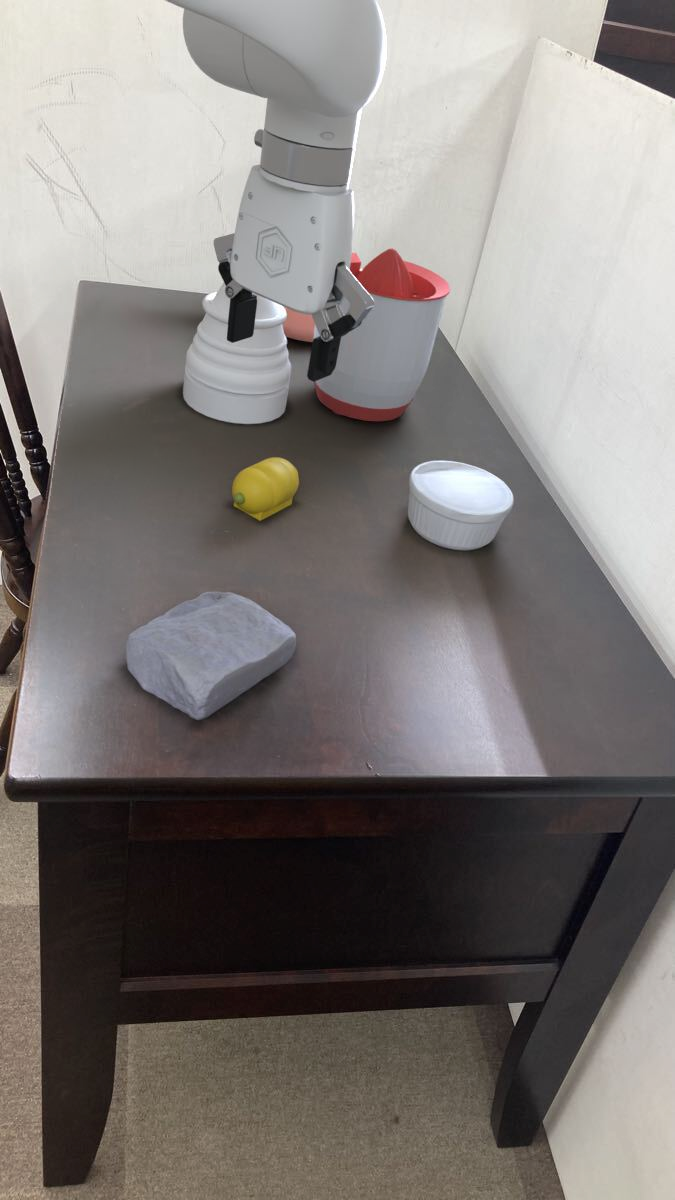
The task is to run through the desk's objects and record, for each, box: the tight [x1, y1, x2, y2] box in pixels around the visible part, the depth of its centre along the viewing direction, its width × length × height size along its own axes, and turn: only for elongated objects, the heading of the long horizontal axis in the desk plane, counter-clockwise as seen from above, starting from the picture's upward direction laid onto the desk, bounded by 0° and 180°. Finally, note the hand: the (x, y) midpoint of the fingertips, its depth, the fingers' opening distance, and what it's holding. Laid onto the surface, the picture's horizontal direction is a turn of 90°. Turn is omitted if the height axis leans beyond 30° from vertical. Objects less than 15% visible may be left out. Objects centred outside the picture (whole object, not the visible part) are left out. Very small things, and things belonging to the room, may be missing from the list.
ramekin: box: [407, 460, 515, 551], centre depth 95 cm, size 11×11×5 cm
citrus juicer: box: [313, 247, 451, 422], centre depth 112 cm, size 16×17×20 cm
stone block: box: [125, 590, 297, 721], centre depth 71 cm, size 12×5×10 cm
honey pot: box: [182, 282, 292, 425], centre depth 106 cm, size 13×13×18 cm
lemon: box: [231, 456, 300, 522], centre depth 92 cm, size 10×5×5 cm, turn 144°
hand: (278, 357), depth 84 cm, fingers open, 9 cm apart
